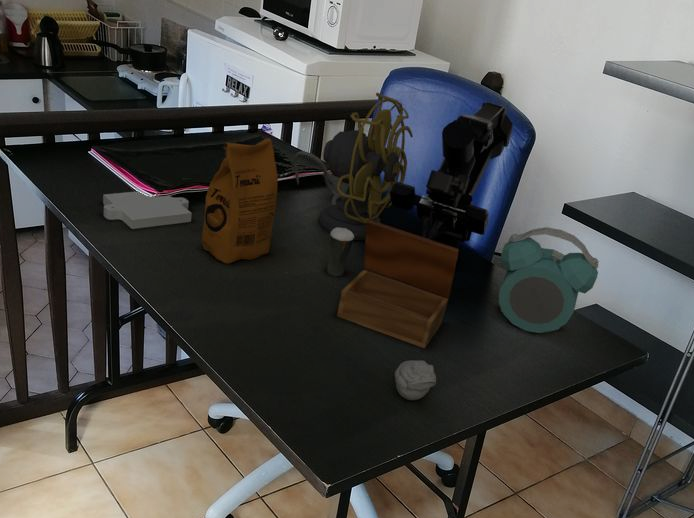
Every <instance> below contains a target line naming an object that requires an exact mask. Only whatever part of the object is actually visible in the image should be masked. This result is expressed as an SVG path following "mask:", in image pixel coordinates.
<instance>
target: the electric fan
mask: <svg viewBox="0 0 694 518" xmlns="http://www.w3.org/2000/svg"><path fill="white" fill-rule="evenodd" d="M375 96H376V97H377V98H378V99H379V101H378V102H376V103H375V104H374V105H373V107H372V108H371V109H370V110H369V112H368V113H367V114H366V117H365V118H364V119H361V118H360V115H359V113H358V112H357V111H356V112H352V113H351V114H350V119H352V120H353V121H354V122H355V123H357V129H352V130H348V131H339V132H338V133H337V134H335V135H334V136H333V137H332V139H330V140H328V141H327V142H325V145H324V147H323V153H322V159H323V160H321V159H320V158H319V157H318V156H317V155H315V154H313V153H311V152H310V151H305V150H301V151H298V152H296V153H295V154H294V156H293V159H292V167H293V172H294V176H295V180H296V184H297V185H299V184H300V174H299V169H298V159H299V158H300V156H305V157H308V158H311V160H313V161H315V163H317V164H319V166H320V168H321V170H322V173H323V177H324V178H323V179H324V182H325V185H326V187H327V189H328V190H329V192H330V193H331V195H333V196H332V199H331V205H328V206H326V207H323V208H322V209H321V210H320V213H319V215H318V216H319V217H318V218H319V219H318V222H319V225H320V227H321V228H322V229H323V230H324V231H325V232H327V233H328V234H330V233H331V231H332V230H333V229H334V228H346V229H348V230H349V231H351V232H352V233H353V235H354V236H355V237H354V239H353V241H365V240H366V224H367V221H368V219H369V220H372V221H375V222H378V223H381V218H380V217H379V216H380V214H382V212H383V210H384V209H388V208H390V207H391V206H393V205H392V202H390V201H391V196H390V191H391V188H392V186H393V185H394V184H395V183H397V182H400V183H404V182H405V178H406V173H407V169H408V158H407V154H406V151H405V143H406V138H405V137H406V136H405V135H406V133H405V131H407V133H408V134H409V136H410V138H413V137H414V135H413V132H412V130H411V128H410V126H408V125H405V122H404V120H406V119H409V118H410V115H409V113H408V111H407V110H406V109H405V108H404V106H403V104H402V103H401V102H399V99H395V98H393V97H390V96H388V95H384V94H382V93H380V92H376V93H375ZM387 102H389V103H392V104H393V106H391V108H389V109H386V108H385V109H382V107H383V103H387ZM377 107H378V109H377ZM395 108H396V110H397V112H398V115H397V116H396V118H395V121H394V122H393V124H392V120H393V119H392V112H391V111H393V110H394V109H395ZM376 109H377V112H376V114H375V117H374V118H373V120H372V121H371V120H369V118H370V117H371V115H372V114H373V112H374V110H376ZM404 113H405V115H403V114H404ZM365 125H370V126H369V129H368V135H367V134H366V133H365ZM399 126H400V127H399ZM400 135H401V147H400V146H397V145H398V141H399V137H400ZM323 161H324V162H325V163H326V164H327V165H328V169H327V167H326V165H325V163H324V162H323ZM328 170H329V171H330V173H331V174H332V176H333V177H336V178H338V181H337V184H336V190H337V192H336V191H335V189H334V188H333V186H332V184H331V183H330V178H329V174H328ZM382 173H383V179H382V178H381V175H382ZM399 177H400V179H399ZM398 180H399V181H398ZM382 181H383V182H382ZM342 183H344V184H347V185H348V187H347V190H346V192H343V191H342V190H341V184H342ZM385 192H387V193H386V195H385V197H383V194H384V193H385ZM342 198H343V199H342ZM338 199H342V200H340V201H338ZM337 201H338V203H336V202H337ZM389 202H390V203H389ZM388 203H389V204H388ZM359 229H360V230H359ZM357 232H358V233H357ZM356 233H357V234H356Z"/></svg>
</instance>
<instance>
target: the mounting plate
mask: <svg viewBox="0 0 694 518" xmlns="http://www.w3.org/2000/svg"><path fill="white" fill-rule="evenodd" d="M102 196H103V197H102V204H103V217H104V218H105V219H106V220H110V221H115V220H120V221H122V222H123V223H124V224H126V225H127V226H128V227H129V228H130V229H132V230H135V229H136V230H137V229H144V228H151V227H152V228H153V227H160V226H167V225H168V226H169V225H176V224H177V225H178V224H183V223H191V222H192V215H193V213H192V212H191V211H190V210H189V203H190V202H189V200H188V199H187V198H185V197H173V196H171V195H169V196H165V197H148V196H145V195H144V194H142V193H140V192H139V190H138V191H127V192H115V193H107V194H106V193H105V194H103V195H102Z"/></svg>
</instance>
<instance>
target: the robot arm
mask: <svg viewBox="0 0 694 518" xmlns="http://www.w3.org/2000/svg"><path fill="white" fill-rule="evenodd" d="M507 109H508V108H506V107H505V106H504V105H500V104H498V103H493V102H490V101H487V102H485V101H484V102H483V103H482V105H481V107H480V108H479V109H478V110H477V111H476V112H475V113H473V114H471V115H470V114H460V115H459V116H458V117H457V118H456V119H454V120H453V121H451V122H449V123H447V124H446V125H445V126H444V127H443V128H442V132H441V143H442V145H441V146H442V147H441V148H442V157H443V160H442V162H441V165H440V167H439V169H437V170H434V169H432V170H431V171H430V174H429V177H428V179H427V182H426V185H425V187H426V190H425V194H426V195H427V196H425V195H422V194H421V195H419V194H416V189H415V188H416V187H415V186H413V185H410V184H407V183H404V182H403V183H400V181H397V183H395V184H394V185H393V186H392V188H391V191H390V196H391V198H390V201H391V202H392V205H391V206H393V207H394V208H396V209H400V210H402V211H406V212H408V211H412V210H413V209H414V206H415V207H416V213H417V218H418V219H419V220H421V231H420V233H421V234H420V236H421V237H424V238H427V239H430V240H433V241H436V242H439V243H442V244H445V245H448V246H451V247H454V248H457V249H459V245H460V242H461V243H463V244H464V243H465V242H470V240H471V238H472V234H473V233H474V234H477V235H480V236H482V235H483V236H484V235H485V233H486V230H487V227H488V224H489V217H490V214H489V213H490V212H489V211H488V209H486V208H483V207H480V206H476V205H474V204H473V196H474V194H475V192H476V190H477V188H478V186H479V184H480V182H481V180H482V178H483V176H484V173H485V172H486V170H487V167H488V165H489V163H490V161H491V160H493V159H497V158H498V157H500V156H501V155H502V153H503V152H504V150H505V148H508V147H509V145H508V144H510V142H509V140H510V137H511V138H512V136H511V134H512V135H513V128H514V123H513V121H512V119H511V118H510V117H509V116H508V114H507ZM510 141H511V140H510ZM504 147H505V148H504ZM391 202H390V203H391ZM458 259H459V256H458V257H457V260H458Z"/></svg>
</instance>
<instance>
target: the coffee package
mask: <svg viewBox="0 0 694 518" xmlns="http://www.w3.org/2000/svg"><path fill="white" fill-rule="evenodd" d="M222 148H223V150H225V157H224V158H223V160H222V162H221V164H220V167H219V169H218V171H217V172H216V173H215V174H214V176H213V177H212V179H211V182H210V183H209V185H208V188H207V192H206V195H205V204H204V205H205V206H204V214H203V215H204V216H203V217H204V218H203V224H202V225H203V226H202V232H201V239H200V241H201V243H202V248H203V249H204V251H207V252H209V253H210V254H211V255H212V256H214V258H215V259H216V260H218V261H219V262H222V263H224V264H232V263H234V262H237V261H240V260H246V261H251V260H256V259H258V258H259V257H261V256H264V255H267V254H269V252H270V247H271V241H272V239H271V238H272V233H273V227H274V222H275V216H276V210H277V209H276V207H277V198H278V182H279V181H278V178H279V177H278V176H279V175H278V170H277V163H276V159H275V151H274V146H273V141H272V139H271V138H265V139H263V140H261V141H259V142H257V143H256V144H254V145H252V144H244V143H243V144H241V143H236V142H232V143H231V142H227V141H225V143H224V144H223V146H222Z"/></svg>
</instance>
